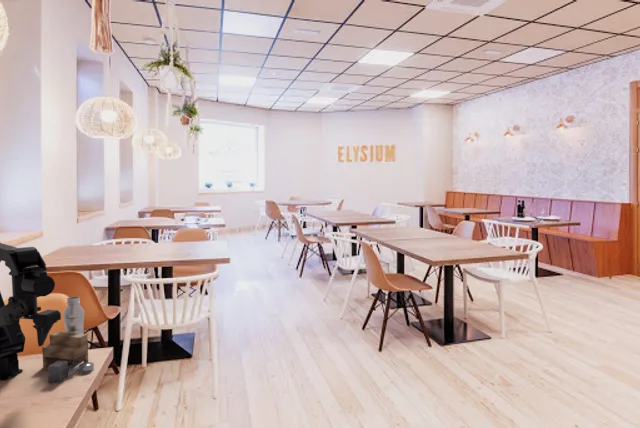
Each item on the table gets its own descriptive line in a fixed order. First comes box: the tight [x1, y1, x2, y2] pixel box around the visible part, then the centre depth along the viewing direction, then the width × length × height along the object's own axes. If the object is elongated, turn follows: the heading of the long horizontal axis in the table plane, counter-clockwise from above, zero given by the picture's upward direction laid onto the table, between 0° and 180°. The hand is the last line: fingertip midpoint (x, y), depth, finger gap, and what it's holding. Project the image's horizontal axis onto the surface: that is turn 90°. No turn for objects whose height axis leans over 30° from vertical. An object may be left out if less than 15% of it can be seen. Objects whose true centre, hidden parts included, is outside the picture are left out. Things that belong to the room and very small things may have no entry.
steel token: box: [78, 361, 95, 374], centre depth 136 cm, size 4×4×2 cm
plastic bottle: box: [62, 296, 86, 334], centre depth 146 cm, size 6×7×20 cm
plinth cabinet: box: [41, 331, 89, 369], centre depth 139 cm, size 12×6×10 cm, turn 78°
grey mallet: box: [47, 361, 84, 384], centre depth 133 cm, size 3×12×5 cm, turn 175°
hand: (27, 344), depth 125 cm, fingers open, 9 cm apart
